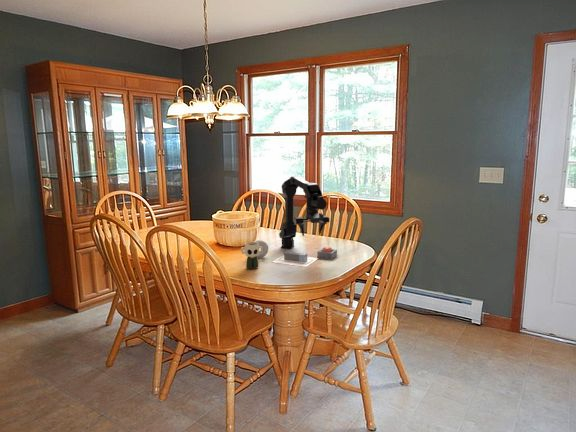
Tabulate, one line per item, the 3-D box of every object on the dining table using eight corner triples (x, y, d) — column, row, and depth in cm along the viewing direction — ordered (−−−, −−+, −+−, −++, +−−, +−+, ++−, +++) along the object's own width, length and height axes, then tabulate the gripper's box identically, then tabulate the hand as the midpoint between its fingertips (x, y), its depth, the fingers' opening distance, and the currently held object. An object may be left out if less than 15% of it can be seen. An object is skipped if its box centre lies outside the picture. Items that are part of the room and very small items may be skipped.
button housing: (317, 257, 235) (317, 251, 234) (322, 253, 242) (322, 248, 242) (331, 259, 231) (331, 253, 231) (336, 255, 239) (337, 249, 238)
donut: (268, 256, 238) (268, 239, 236) (268, 258, 234) (268, 240, 233) (250, 257, 236) (249, 239, 234) (250, 259, 233) (250, 241, 231)
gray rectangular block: (284, 259, 231) (283, 252, 230) (287, 257, 234) (287, 250, 234) (304, 262, 226) (304, 255, 225) (307, 260, 229) (307, 253, 228)
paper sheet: (271, 262, 227) (271, 261, 227) (285, 254, 242) (285, 254, 242) (306, 266, 218) (306, 266, 218) (318, 258, 233) (318, 258, 233)
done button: (321, 254, 236) (321, 248, 235) (324, 252, 240) (324, 246, 239) (329, 255, 234) (329, 249, 233) (332, 253, 238) (332, 247, 237)
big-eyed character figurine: (242, 270, 212) (241, 245, 210) (241, 266, 219) (240, 242, 217) (263, 269, 214) (263, 244, 212) (262, 265, 221) (261, 241, 219)
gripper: (298, 210, 218) (298, 239, 221) (333, 208, 223) (332, 237, 226) (293, 206, 229) (293, 235, 232) (326, 205, 233) (325, 233, 236)
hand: (311, 235), depth 231 cm, fingers open, 9 cm apart
